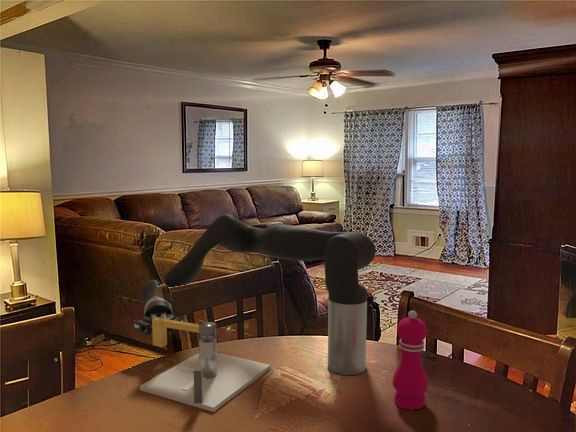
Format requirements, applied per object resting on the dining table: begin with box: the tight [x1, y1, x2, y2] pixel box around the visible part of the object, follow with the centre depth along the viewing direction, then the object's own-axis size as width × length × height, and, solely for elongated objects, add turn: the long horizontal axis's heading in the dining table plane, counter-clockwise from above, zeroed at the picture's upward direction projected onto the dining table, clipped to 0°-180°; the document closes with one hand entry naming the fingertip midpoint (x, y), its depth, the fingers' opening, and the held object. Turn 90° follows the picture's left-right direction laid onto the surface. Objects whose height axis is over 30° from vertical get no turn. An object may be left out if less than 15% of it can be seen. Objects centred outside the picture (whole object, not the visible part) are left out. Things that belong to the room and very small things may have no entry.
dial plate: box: [139, 352, 272, 413], centre depth 114 cm, size 23×20×8 cm
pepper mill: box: [392, 310, 429, 411], centre depth 102 cm, size 7×7×20 cm
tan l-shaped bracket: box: [152, 317, 217, 348], centre depth 116 cm, size 17×4×7 cm, turn 67°
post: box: [198, 338, 218, 379], centre depth 114 cm, size 4×4×8 cm
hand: (159, 335), depth 120 cm, fingers closed
